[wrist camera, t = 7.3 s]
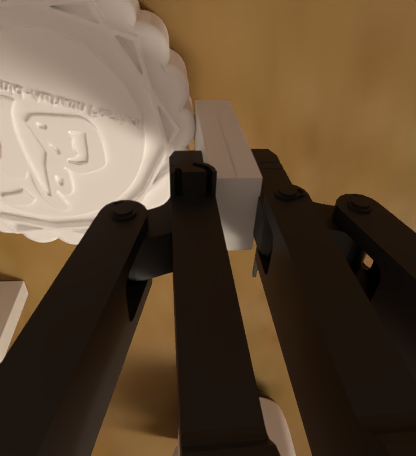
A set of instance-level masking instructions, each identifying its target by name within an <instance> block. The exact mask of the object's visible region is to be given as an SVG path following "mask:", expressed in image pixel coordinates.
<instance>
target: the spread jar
mask: <svg viewBox="0 0 416 456" xmlns="http://www.w3.org/2000/svg"><path fill="white" fill-rule="evenodd" d="M258 395H259V400H260V404H261V409H262V413H263V418H264V423H265V427H266V431H267V434H268V436H269V439H270V440H271V441H272V442H274V443H275V444H276V446H277V449H278V451H279V453H280V456H296V455H295V451H294V447H293V443H292V439H291V435H290V432H289V428H288V425H287V422H286V419H285V417H284V415H283V413H282V411H281V409H280V407H279V406H278V404H277V403H276V402H275V401H274V400H273V399H272V398H271V397H269V396H268V395H266V394H264V393H262V392H260V391H258ZM172 456H180V447H179V430H178V445H177V446H176V448H175V449H174V452H173V455H172Z"/></svg>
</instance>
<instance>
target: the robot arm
mask: <svg viewBox="0 0 416 456" xmlns="http://www.w3.org/2000/svg"><path fill="white" fill-rule="evenodd" d="M195 123H196V130H195V135H194V151H174V152H173V153H172V154H171V156H170V157H169V174H170V198H169V199H168V201H167V202H165V203H164V204H163V205H161V206H159V207H156V208H153V209H149V210H147V209H146V207H145V206H144V205H143V204H141V203H140V202H137V201H133V200H119V201H114V202H111V203H109V204H107V205H105V206H104V207H103V208H102V209H101V210H100V211H99V213H98V214H97V216H96V217H95V219H94V220H93V222H92V223H91V225H90V226H89V228H88V230H87V231H86V233H85V234H84V236H83V237H82V239H81V240H80V242H79V243H78V245H77V247H76V248H75V250H74V251H73V253H72V254H71V256H70V257H69V259H68V260H67V262H66V263H65V265H64V267H63V268H62V270H61V271H60V273H59V274H58V276H57V277H56V279H55V280H54V282H53V283H52V285H51V287H50V288H49V290H48V291H47V293H46V294H45V296H44V297H43V299H42V300H41V302H40V304H39V305H38V307H37V308H36V310H35V311H34V313H33V314H32V316H31V317H30V319H29V320H28V322H27V324H26V325H25V327H24V328H23V330H22V331H21V333H20V334H19V336H18V337H17V339H16V341H15V342H14V344H13V345H12V347H11V348H10V350H9V351H8V353H7V354H6V356H5V357H4V359H3V361H2V362H1V364H0V456H91V453H92V450H93V447H94V445H95V442H96V439H97V436H98V433H99V431H100V428H101V425H102V422H103V419H104V417H105V414H106V411H107V408H108V405H109V403H110V400H111V397H112V394H113V391H114V389H115V386H116V383H117V380H118V377H119V374H120V372H121V369H122V366H123V363H124V360H125V358H126V355H127V352H128V349H129V346H130V344H131V341H132V338H133V335H134V332H135V330H136V327H137V324H138V321H139V318H140V316H141V313H142V310H143V307H144V304H145V301H146V299H147V296H148V293H149V290H150V287H151V285H152V278H154V277H157V276H161V275H164V274H167V273H171V272H173V291H174V317H175V343H176V369H177V395H178V421H179V447H180V456H280V453H279V451H278V449H277V446H276V444H275V443H274V442H272V441H271V440H270V439H269V436H268V434H267V431H266V427H265V423H264V418H263V413H262V409H261V404H260V400H259V395H258V390H257V386H256V381H255V376H254V372H253V367H252V362H251V358H250V353H249V349H248V344H247V339H246V335H245V330H244V325H243V321H242V316H241V312H240V307H239V302H238V298H237V293H236V288H235V284H234V279H233V275H232V270H231V265H230V261H229V256H228V251H227V250H250V249H252V246H253V239H254V238H255V241H256V245H257V248H256V254H255V260H254V267H253V277H256V274H257V270H258V271H259V274H260V278H261V281H262V284H263V288H264V291H265V295H266V298H267V302H268V305H269V308H270V312H271V315H272V319H273V322H274V326H275V329H276V332H277V336H278V339H279V343H280V346H281V350H282V353H283V357H284V360H285V363H286V367H287V370H288V374H289V377H290V381H291V384H292V387H293V391H294V394H295V398H296V401H297V405H298V408H299V411H300V415H301V418H302V422H303V425H304V429H305V432H306V435H307V439H308V442H309V446H310V449H311V453H312V456H416V233H415V232H414V231H413V230H412V229H410V228H409V227H408V226H407V225H405V224H404V223H403V222H402V221H400V220H399V219H398V218H397V217H395V216H394V215H393V214H392V213H390V212H389V211H388V210H387V209H385V208H384V207H383V206H382V205H380V204H379V203H378V202H376V201H375V200H373V199H371V198H369V197H366V196H364V195H360V194H359V195H358V194H345V195H342V196H340V197H339V198H338V199H337V200H336V204H335V206H331V205H325V204H320V203H315V202H313V201H312V200H311V198H310V196H309V194H308V193H307V192H306V191H305V190H304V189H302V188H300V187H298V186H296V185H292V183H291V182H290V180H289V178H288V176H287V174H286V172H285V170H283V167H282V165H281V164H280V161H279V159H278V157H277V155H275V154H274V153H273V152H271V151H270V150H268V149H250V147H249V144H248V142H247V140H246V137H245V135H244V133H243V130H242V128H241V126H240V123H239V121H238V119H237V116H236V114H235V111H234V109H233V107H232V104H231V102H230V100H196V99H195ZM366 254H368V255H369V256H370V257H371V258H372V259H373V260H374V261H373V264H372V266H371V268H369V267H368V266H366V265H365V264H364V263H363V261H364V259H365V256H366Z"/></svg>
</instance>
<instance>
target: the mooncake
mask: <svg viewBox="0 0 416 456" xmlns="http://www.w3.org/2000/svg"><path fill="white" fill-rule="evenodd" d="M195 130H196V123H195V117H194V111H193V106H192V101H191V98H190V96H189V83H188V77H187V71H186V67H185V64H184V61H183V59H182V58H181V56H180V55H179V54H178V53H177V52H175V51H174V50H172V49H170V48H169V35H168V31H167V28H166V26H165V24H164V22H163V21H162V20H161V19H160V18H159V17H158V16H157V15H156V14H154V13H152V12H150V11H146V10H140V5H139V1H138V0H0V231H1V232H6V233H16V234H19V233H22V234H23V235H25V236H26V237H27V238H29V239H31V240H33V241H36V242H51V241H54V240H56V239H57V238H59V239H60V240H62V241H64V242H66V243H69V244H78V243H79V242H80V240H81V239H82V237H83V236H84V234H85V233H86V231H87V230H88V228H89V226H90V225H91V223H92V222H93V220H94V219H95V217H96V216H97V214H98V213H99V211H100V210H101V209H102V208H103V207H104V206H105V205H107V204H109V203H111V202H114V201H119V200H133V201H137V202H140V203H141V204H143V205H144V206H145V207H146V209H147V210H149V209H153V208H155V207H159V206H161V205H163V204H164V203H165V202H167V201H168V199H169V198H170V174H169V157H170V156H171V154H172V153H173V152H174V151H190V149H189V143H190V142H191V141H192V139H193V137H194V135H195Z"/></svg>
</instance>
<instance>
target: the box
mask: <svg viewBox="0 0 416 456" xmlns="http://www.w3.org/2000/svg"><path fill="white" fill-rule="evenodd" d="M27 296H28V291H27V288H26V286H25V283H24V281H2V282H0V362H2V361H3V359H4V357H5V355H6V352H7V349H8V347H9V344H10V341H11V339H12V336H13V333H14V331H15V328H16V325H17V323H18V320H19V317H20V315H21V312H22V309H23V307H24V304H25V301H26V299H27Z"/></svg>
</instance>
